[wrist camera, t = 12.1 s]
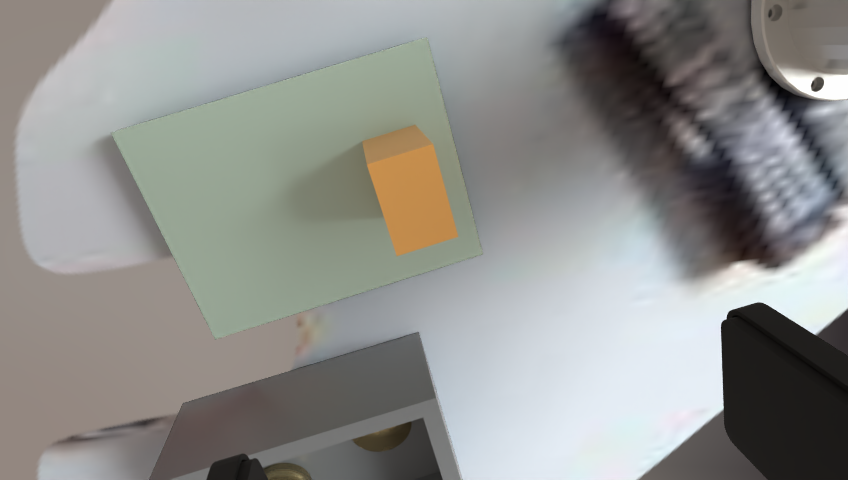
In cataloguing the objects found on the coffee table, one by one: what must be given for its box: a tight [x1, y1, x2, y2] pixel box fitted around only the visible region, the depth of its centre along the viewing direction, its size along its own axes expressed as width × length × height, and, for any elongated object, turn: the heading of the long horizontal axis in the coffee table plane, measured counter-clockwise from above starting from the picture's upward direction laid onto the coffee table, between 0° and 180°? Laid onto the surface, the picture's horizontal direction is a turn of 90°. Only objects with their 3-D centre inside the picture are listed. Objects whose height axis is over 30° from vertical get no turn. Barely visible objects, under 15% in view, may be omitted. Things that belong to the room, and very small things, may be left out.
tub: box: [149, 332, 462, 480], centre depth 34 cm, size 16×12×7 cm
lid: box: [111, 38, 483, 339], centre depth 27 cm, size 17×13×8 cm
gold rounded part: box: [352, 421, 412, 452], centre depth 35 cm, size 4×4×2 cm
